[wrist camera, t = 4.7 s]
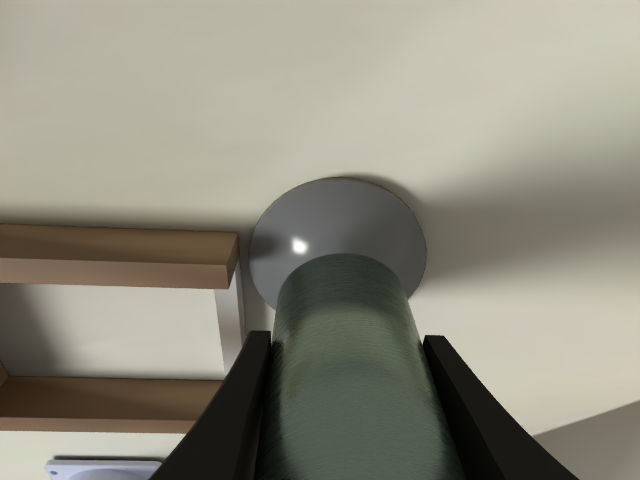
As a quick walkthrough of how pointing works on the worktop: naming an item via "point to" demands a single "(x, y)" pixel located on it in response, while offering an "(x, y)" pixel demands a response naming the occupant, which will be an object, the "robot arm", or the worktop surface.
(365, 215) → the coaster
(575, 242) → the worktop surface
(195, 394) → the frame
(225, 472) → the robot arm
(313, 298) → the tin can
